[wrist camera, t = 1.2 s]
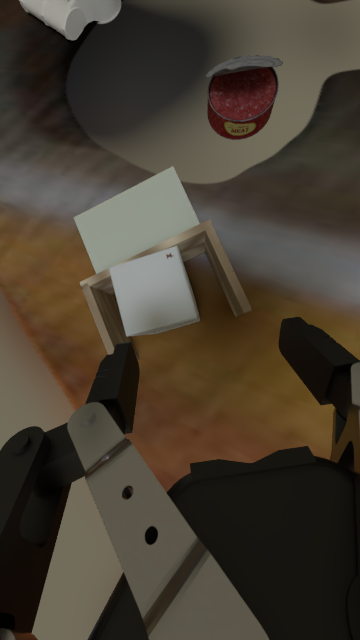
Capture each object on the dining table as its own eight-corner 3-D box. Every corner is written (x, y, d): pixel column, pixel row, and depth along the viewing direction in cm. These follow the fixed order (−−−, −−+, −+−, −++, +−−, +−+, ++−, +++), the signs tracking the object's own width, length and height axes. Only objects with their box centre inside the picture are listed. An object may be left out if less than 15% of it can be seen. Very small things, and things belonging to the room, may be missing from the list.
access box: (208, 243, 32) (209, 219, 25) (241, 314, 31) (252, 309, 24) (105, 292, 33) (79, 282, 27) (133, 361, 32) (114, 370, 25)
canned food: (207, 148, 38) (178, 83, 30) (243, 96, 36) (223, 13, 28) (257, 156, 31) (238, 76, 23) (304, 94, 30) (300, -16, 22)
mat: (173, 169, 33) (172, 166, 33) (204, 234, 32) (204, 233, 31) (75, 219, 35) (73, 217, 34) (102, 283, 34) (100, 283, 33)
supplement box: (143, 289, 33) (106, 264, 20) (189, 276, 32) (179, 242, 20) (155, 335, 32) (123, 338, 20) (201, 322, 32) (199, 317, 19)
